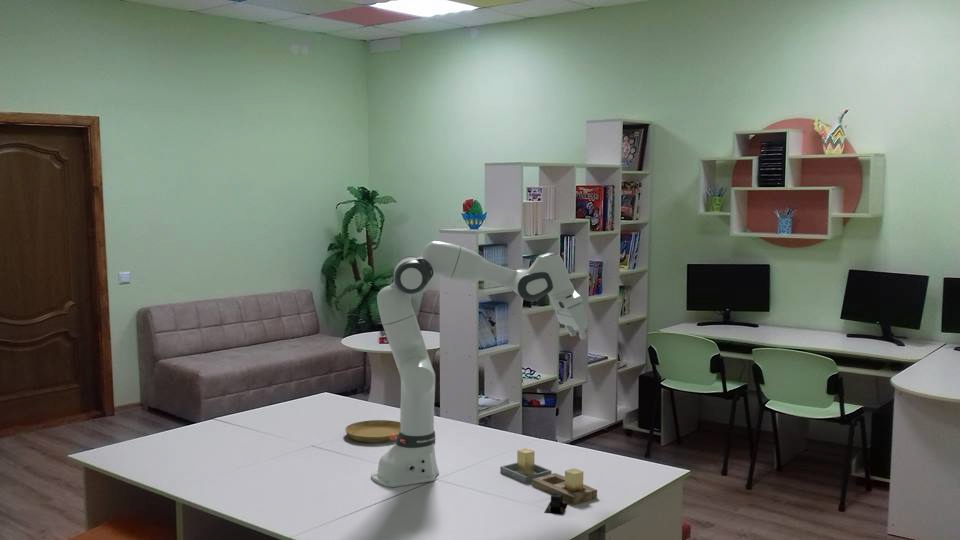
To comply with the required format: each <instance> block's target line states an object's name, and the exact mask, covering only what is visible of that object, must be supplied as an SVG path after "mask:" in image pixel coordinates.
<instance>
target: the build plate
mask: <svg viewBox="0 0 960 540" xmlns="http://www.w3.org/2000/svg"><path fill="white" fill-rule="evenodd" d="M568 505H569V503H567V502H564V501H563V493H556V492H553V493H552V494H550V501H549V503H548V505H547V507H546V508H545V510H544V512H543V513H544V514H553V515H562V516H563V515H564V514H565V512H566V510H567V508H568Z"/></svg>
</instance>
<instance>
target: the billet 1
mask: <svg viewBox="0 0 960 540" xmlns="http://www.w3.org/2000/svg"><path fill="white" fill-rule="evenodd" d="M516 453H517V454H516V457H517V459H516V460H517V461H516V463H517V473H519V474H522V475H524V476H529V475H533V474H534V464H535V455H536V453H535V450H532V449H530V448H528V447H527V448H526V447H525V448H522V449H517V451H516Z"/></svg>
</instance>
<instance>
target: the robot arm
mask: <svg viewBox="0 0 960 540" xmlns="http://www.w3.org/2000/svg"><path fill="white" fill-rule="evenodd" d="M434 276H441V277H444V278H448V279H450V280H453V281H454V280H455V281H457V282H464V283H475V282H479V281H482V282H483V281H484V282H490V283H493V284H495V285H499V286H502V287H505V288H508V289H509V290H511V291H512V292H513V293H514V294H515V295H516V296H518V297H520V298H521V299H523V300H524V301H527V302H536V301H538V300H540V299H542V298H543V297H545V296H546V295H548V298H549V301H550V303H551V305H552V308H553V310H554V312H555V316H556V319H557V321H558V322H559V324H560V325H564V326H565V328H566V330H567V331H568V334H569V335H570V337H575V336H577V331H578V333H579V334H578V336H579V338H580V340H586V339H587V333H586V327H587V326H588V325H589V319H588V315H587V313H586V309H585V307H584V304H583V298H582V295H580V294H579V293H578V292H577V291H576V289H575V287H574V284H573V283H572V281H571V280H570V274H569V271H568V269H567V267H566V264H565V262H564V259H563V258H562V257H561V255H560V254H558V253H555V252H547V253H544V254H543V253H542V254H540V255H538V256H537V257H536V259H535V260H534V262H533V263H532V264H531V265H530V267H528V268H519V269H513V268H509V267H506V266H502V265H500V264H497V263H493V262H491V261H489V260H487V259H486V258H484V257H483V256H482V255H480V254H479V253H477V252H475V251H474V250H471V249H469V248H467V247H464V246H461V245H459V244H454V243H450V242H449V243H448V242H444V241H436V240H434V241H429V243H427V244H426V245H425V246H424V248H423V250H422V253H421V255H420V256H418V257H416V256H405V257H403V258H401V259H400V260H399V261H398V262H397V263H396V265H395V267H394V270H393V276H392V281H391V284H389V285H387V286H384V287H383V288H381V289H380V290H379V292H378V293H377V294H376V295H377V296H376V301H377V302H376V303H377V308H378V313H379V318H380V320H381V324H382V327H383V330H384V333H385V336H386V340H387V342H388V344H389V345H388V346H389V348H390V350H391V353H392V356H393V358H394V361H395V364H396V367H397V370H398V373H399V377H400V405H399V406H400V408H399V411H400V413H399V414H400V415H399V417H400V418H399V420H400V421H399V422H400V432H399V434H398V436H397V435H395V434H393V433H392V434H391V435H390V439H391V440H394V441H395V444H394V445H392V447H391V448H389V450H387V452H385V453H384V454H383V455H382V456H381V457H380V458H379V461H378V466H377V471H374V472H371V474H370V475H371V476H370V477H371V480H372V481H373V482H375V483H376V484H379V485H381V486H385V487H387V488H388V487H389V488H390V487H391V488H397V487H402V486H408V485H409V486H410V485H415V484H421V483H426V482H427V483H429V482H434V481H436V478H437V476H438V475H439V474H440V471H439V468H438V464H437V459H436V458H437V457H436V449H435V445H436V431H435V398H436V396H435V395H436V372H435V370H434V368H433V364H432V361H431V359H430V355H429V353H428V350H427V347H426V344H425V341H424V338H423V334H422V331H421V329H420V325H419V323H418V318H417V316H416V313H415V310H414V308H413V305H412V295H414V294H418V293H420V292H421V291H423V290H424V289H425V288H426V287H427V285H428V284H429V282H430V281H431V279H432V278H433V277H434ZM575 328H576V329H577V331H576V330H575ZM394 441H393V442H394Z"/></svg>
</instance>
